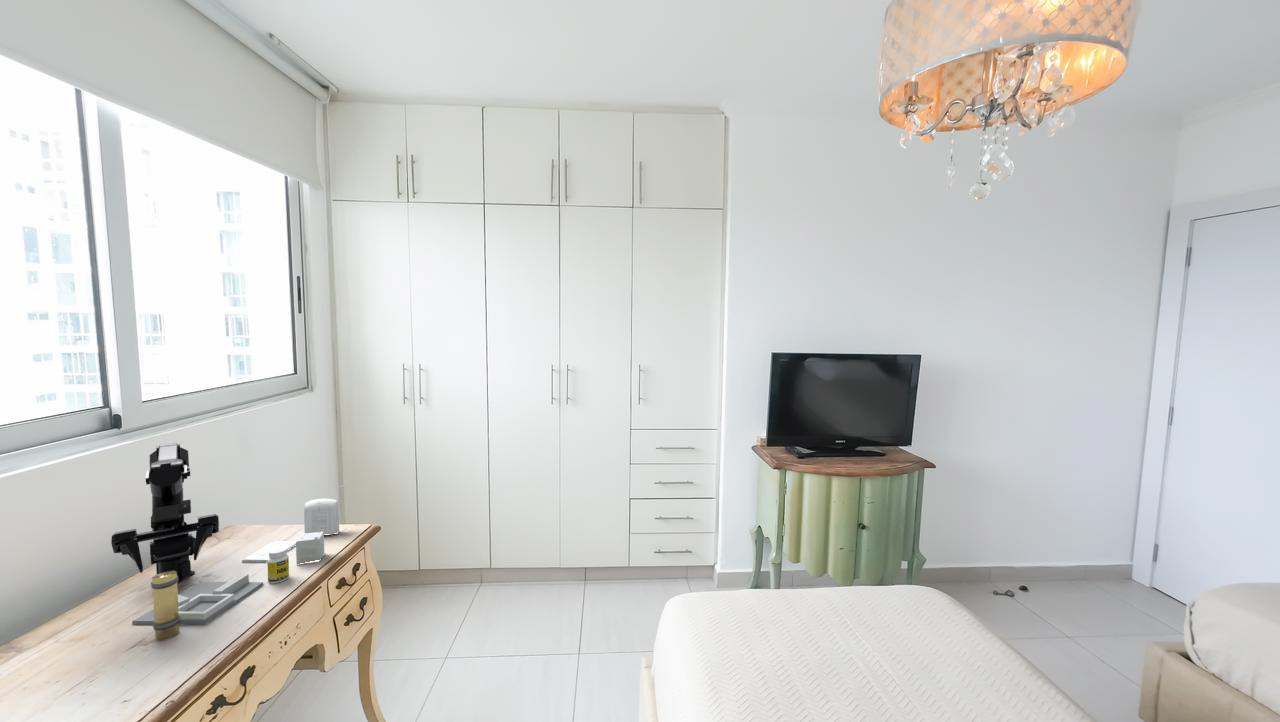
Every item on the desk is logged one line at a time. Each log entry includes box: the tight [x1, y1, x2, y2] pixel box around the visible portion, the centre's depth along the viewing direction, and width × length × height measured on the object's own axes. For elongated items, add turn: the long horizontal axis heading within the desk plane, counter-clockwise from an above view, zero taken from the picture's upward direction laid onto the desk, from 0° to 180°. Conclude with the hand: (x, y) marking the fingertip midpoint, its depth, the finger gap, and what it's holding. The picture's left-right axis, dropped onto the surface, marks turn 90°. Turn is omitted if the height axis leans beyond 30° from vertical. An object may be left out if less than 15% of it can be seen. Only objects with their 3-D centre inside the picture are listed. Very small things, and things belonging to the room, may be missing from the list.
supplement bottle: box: [266, 547, 290, 584], centre depth 136 cm, size 5×5×8 cm
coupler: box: [150, 571, 181, 642], centre depth 111 cm, size 4×4×14 cm
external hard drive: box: [241, 540, 296, 563], centre depth 152 cm, size 2×8×12 cm
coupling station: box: [131, 573, 264, 626], centre depth 124 cm, size 17×18×3 cm
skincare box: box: [295, 532, 325, 565], centre depth 148 cm, size 6×6×7 cm
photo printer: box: [303, 498, 340, 534], centre depth 166 cm, size 10×4×12 cm, turn 103°
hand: (168, 565), depth 116 cm, fingers open, 9 cm apart
